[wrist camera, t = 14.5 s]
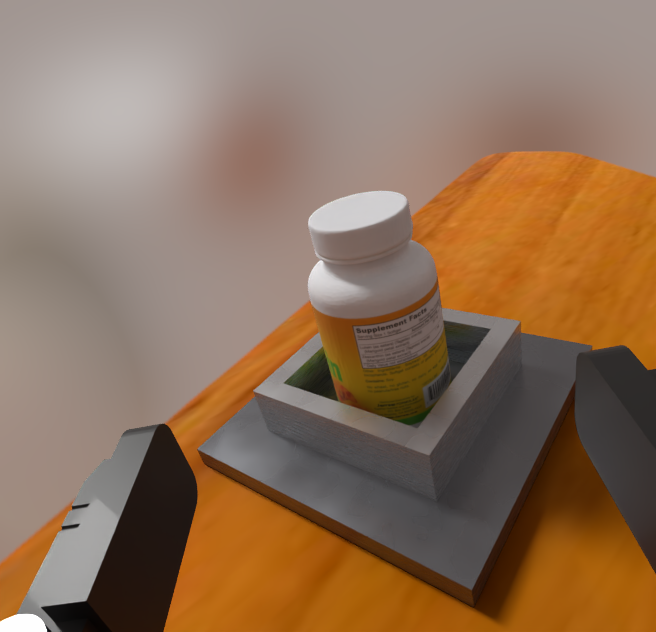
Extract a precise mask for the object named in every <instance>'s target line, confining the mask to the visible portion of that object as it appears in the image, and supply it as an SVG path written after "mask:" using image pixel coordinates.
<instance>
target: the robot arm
mask: <svg viewBox="0 0 656 632" xmlns="http://www.w3.org/2000/svg"><path fill="white" fill-rule="evenodd" d="M575 422H576V427H577V431H578V435H579V438H580V440H581V443H582V445H583V447H584V449H585V451H586V452H587V454H588V456H589V458H590V459H591V461H592V463H593V465H594V466H595V468H596V470H597V472H598V473H599V475H600V477H601V479H602V480H603V482H604V484H605V486H606V487H607V489H608V491H609V493H610V494H611V496H612V498H613V500H614V501H615V503H616V505H617V507H618V509H619V510H620V512H621V514H622V516H623V517H624V519H625V521H626V523H627V524H628V526H629V528H630V530H631V531H632V533H633V535H634V537H635V538H636V540H637V542H638V544H639V545H640V547H641V549H642V551H643V552H644V554H645V556H646V558H647V559H648V561H649V563H650V565H651V566H652V568H653V570H654V572H655V573H656V369H653V370H647V369H646V368H645V367H644V365H643V364H642V363H641V362H640V361H639V360H638V358H637V357H636V356H635V355H634V354H633V353H632V351H631V350H630V349H629V348H627V347H626V346H623V345H621V346H615V347H609V348H603V349H598V350H592V351H586V352H581V353H579V354H578V356H577V359H576V383H575ZM196 504H197V483H196V479H195V476H194V473H193V471H192V469H191V467H190V466H189V464H188V462H187V460H186V458H185V456H184V454H183V452H182V450H181V448H180V446H179V444H178V442H177V441H176V439H175V437H174V435H173V433H172V431H171V429H170V428H169V427H168V426H167V425H166V424H158V425H152V426H147V427H141V428H135V429H129V430H127V431H125V432H124V433H123V435H122V436H121V438H120V441H119V443H118V445H117V447H116V449H115V451H114V453H113V455H112V457H111V459H106V460H103V462H102V463H101V464H100V465H99V466H98V467H97V468H96V469H95V470H94V471H93V473H92V474H91V475H90V476H89V477H88V478H87V480H86V481H84V483H83V485H82V487H81V489H80V491H79V493H78V495H77V497H76V499H75V501H74V503H73V505H72V511H69V512H68V514H67V516H66V518H65V520H64V522H63V524H62V526H61V527H62V531H59V532H58V534H57V536H56V538H55V540H54V542H53V544H52V546H51V548H50V550H49V552H48V554H47V556H46V558H45V560H44V562H43V563H42V565H41V567H40V569H39V571H38V573H37V575H36V577H35V579H34V581H33V583H32V585H31V587H30V589H29V591H28V593H27V595H26V597H25V599H24V601H23V603H22V605H21V607H20V609H19V610H18V612H17V614H16V616H13V617H10V618H8V619H6V620H3V621H1V622H0V632H163V631H164V627H165V623H166V619H167V615H168V612H169V608H170V604H171V600H172V596H173V593H174V589H175V585H176V581H177V577H178V574H179V570H180V566H181V562H182V558H183V555H184V551H185V547H186V543H187V539H188V535H189V532H190V528H191V524H192V520H193V516H194V513H195V509H196Z"/></svg>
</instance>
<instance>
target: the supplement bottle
mask: <svg viewBox="0 0 656 632" xmlns="http://www.w3.org/2000/svg"><path fill="white" fill-rule="evenodd" d="M308 226H309V231H310V234H311V239H312V243H313V246H314V249H315V254H316V256H317V257H318V258H319V259H320V261H319V262H318V263H317V264H316V265H315V267H314V268H313V270H312V272H311V274H310V277H309V280H308V292H309V297H310V302H311V305H312V309H313V312H314V316H315V319H316V323H317V326H318V330H319V334H320V337H321V341H322V345H323V348H324V352H325V355H326V358H327V362H328V366H329V369H330V373H331V376H332V379H333V383H334V387H335V390H336V394H337V397H338V401H339V402H340V403H343V404H346V405H349V406H352V407H355V408H358V409H361V410H364V411H367V412H370V413H373V414H376V415H379V416H382V417H385V418H388V419H391V420H394V421H397V422H400V423H403V424H406V425H409V426H412V427H415V428H418V427H419V426H420V425H421V423H422V422H423V421H424V419H425V418H426V417H427V415H428V414H429V413H430V411H431V410H432V408H433V407H434V406H435V404H436V403H437V402H438V400H439V399H440V398H441V396H442V395H443V394H444V392H445V391H446V389H447V388H448V387H449V385H450V384H451V383H452V381H451V373H450V365H449V357H448V351H447V344H446V336H445V329H444V322H443V314H442V307H441V300H440V292H439V284H438V277H437V273H436V267H435V263H434V260H433V258H432V256H431V254H430V253H429V251H428V250H427V249H426V248H424V247H423V246H422V245H420V244H419V243H417V242H415V241H412V240H410V239H411V237H412V229H413V223H412V219H411V215H410V209H409V203H408V200H407V198H406V197H405V196H404V195H402V194H400V193H397V192H392V191H373V192H364V193H359V194H354V195H350V196H347V197H343V198H340V199H337V200H335V201H332V202H330V203H328V204H326V205H324V206H322V207H321V208H319V209H317V210H316V211H315V212H314V213H313V214H312V215H311V216H310V218H309V221H308Z"/></svg>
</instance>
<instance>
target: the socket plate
mask: <svg viewBox="0 0 656 632" xmlns="http://www.w3.org/2000/svg"><path fill="white" fill-rule="evenodd" d="M442 314H443V322H444V329H445V336H446V344H447V351H448V357H449V365H450V373H451V381H452V383H451V384H450V385H449V387H448V388H447V389H446V391H445V392H444V394H443V395H442V396H441V398H440V399H439V400H438V402H437V403H436V404H435V406H434V407H433V408H432V410H431V411H430V413H429V414H428V415H427V417H426V418H425V419H424V421H423V422H422V423H421V425H420V426H419V427H418V428H415V427H412V426H409V425H406V424H403V423H400V422H397V421H394V420H391V419H388V418H385V417H382V416H379V415H376V414H373V413H370V412H367V411H364V410H361V409H358V408H355V407H352V406H349V405H346V404H343V403H340V402H339V401H338V397H337V394H336V390H335V387H334V383H333V379H332V376H331V373H330V369H329V366H328V362H327V358H326V355H325V352H324V348H323V345H322V341H321V337H320V334H319V332H318V333H317V334H316V335H315V336H314V337H313V338H312V339H311V340H310V341H308V342H307V343H306V344H305V345H304V346H303V347H302V348H301V349H300V350H298V351H297V352H296V353H295V354H294V355H293V356H292V357H291V358H290V359H288V360H287V361H286V362H285V363H284V364H283V365H282V366H281V367H280V368H278V369H277V370H276V371H275V372H274V373H273V374H272V375H271V376H270V377H268V378H267V379H266V380H265V381H264V382H263V383H262V384H261V385H259V386H258V387H257V388H256V389H255V390H254V391H253V392H254V394H255V397H254V398H253V399H252V400H251V401H250V402H248V403H247V404H246V405H245V406H244V407H243V408H242V409H241V410H240V411H239V412H237V413H236V414H235V415H234V416H233V417H232V418H231V419H230V420H229V421H228V422H226V423H225V424H224V425H223V426H222V427H221V428H220V429H219V430H218V431H217V432H216V433H214V434H213V435H212V436H211V437H210V438H209V439H208V440H207V441H206V442H205V443H203V444H202V445H201V446H200V447H199V448H198V449H197V450H198V452H199V454H200V456H201V458H202V460H203V462H204V464H206V465H208V466H210V467H211V468H213V469H215V470H217V471H219V472H221V473H223V474H225V475H226V476H228V477H230V478H232V479H234V480H236V481H238V482H240V483H241V484H243V485H245V486H247V487H249V488H251V489H253V490H255V491H256V492H258V493H260V494H262V495H264V496H266V497H268V498H270V499H271V500H273V501H275V502H277V503H279V504H281V505H283V506H285V507H286V508H288V509H290V510H292V511H294V512H296V513H298V514H300V515H301V516H303V517H305V518H307V519H309V520H311V521H313V522H315V523H316V524H318V525H320V526H322V527H324V528H326V529H328V530H330V531H331V532H333V533H335V534H337V535H339V536H341V537H343V538H345V539H346V540H348V541H350V542H352V543H354V544H356V545H358V546H360V547H361V548H363V549H365V550H367V551H369V552H371V553H373V554H375V555H376V556H378V557H380V558H382V559H384V560H386V561H388V562H390V563H391V564H393V565H395V566H397V567H399V568H401V569H403V570H405V571H406V572H408V573H410V574H412V575H414V576H416V577H418V578H420V579H421V580H423V581H425V582H427V583H429V584H431V585H433V586H435V587H436V588H438V589H440V590H442V591H444V592H446V593H448V594H450V595H451V596H453V597H455V598H457V599H459V600H461V601H463V602H465V603H466V604H468V605H470V606H472V607H474V606H475V604H476V602H477V600H478V598H479V596H480V594H481V592H482V590H483V588H484V586H485V583H486V581H487V579H488V577H489V575H490V573H491V571H492V569H493V567H494V565H495V563H496V560H497V558H498V556H499V554H500V552H501V550H502V548H503V546H504V544H505V542H506V540H507V537H508V535H509V533H510V531H511V529H512V527H513V525H514V523H515V521H516V519H517V516H518V514H519V512H520V510H521V508H522V506H523V504H524V502H525V500H526V498H527V496H528V493H529V491H530V489H531V487H532V485H533V483H534V481H535V479H536V477H537V475H538V473H539V470H540V468H541V466H542V464H543V462H544V460H545V458H546V456H547V454H548V452H549V450H550V447H551V445H552V443H553V441H554V439H555V437H556V435H557V433H558V431H559V429H560V427H561V424H562V422H563V420H564V418H565V416H566V414H567V412H568V410H569V408H570V406H571V404H572V401H573V399H574V397H575V383H576V359H577V356H578V354H579V353H581V352H586V351H592V346H591V345H585V344H580V343H574V342H569V341H563V340H558V339H553V338H547V337H542V336H536V335H531V334H525V333H521V321H516V320H510V319H504V318H498V317H493V316H487V315H481V314H475V313H469V312H463V311H457V310H451V309H445V308H442Z"/></svg>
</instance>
